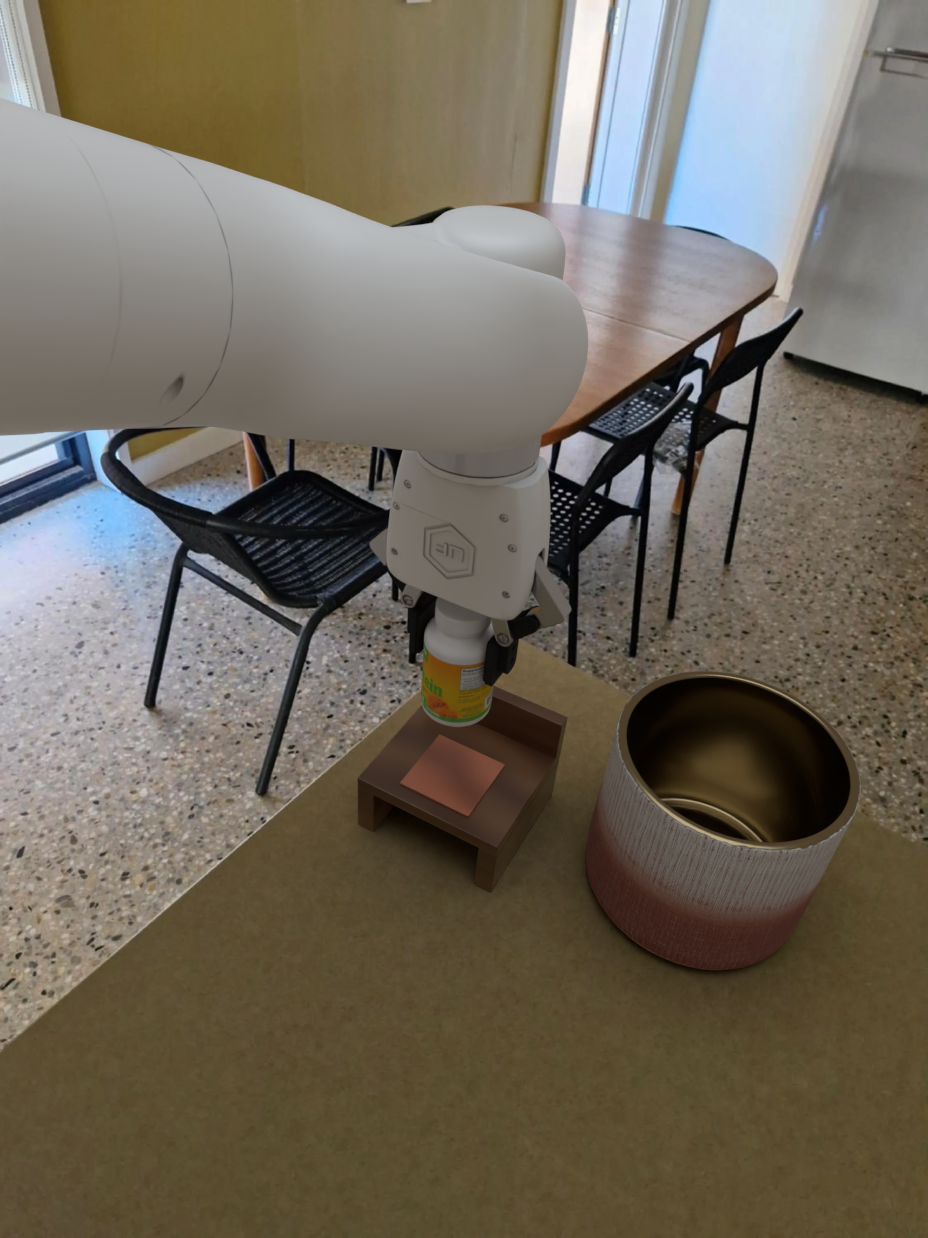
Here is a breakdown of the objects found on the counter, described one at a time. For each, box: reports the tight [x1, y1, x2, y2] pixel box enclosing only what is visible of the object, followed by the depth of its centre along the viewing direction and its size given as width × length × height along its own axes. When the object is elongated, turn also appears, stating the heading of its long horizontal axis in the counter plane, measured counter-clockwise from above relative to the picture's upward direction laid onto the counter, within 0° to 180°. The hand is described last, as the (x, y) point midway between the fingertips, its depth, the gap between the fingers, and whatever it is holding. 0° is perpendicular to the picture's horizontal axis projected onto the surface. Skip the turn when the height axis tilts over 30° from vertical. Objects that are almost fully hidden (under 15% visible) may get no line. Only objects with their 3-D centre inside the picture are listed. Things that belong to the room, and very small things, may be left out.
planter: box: [585, 670, 862, 971], centre depth 69 cm, size 18×18×16 cm
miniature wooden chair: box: [357, 685, 569, 893], centre depth 75 cm, size 12×13×10 cm
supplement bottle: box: [420, 597, 495, 727], centre depth 65 cm, size 5×5×10 cm
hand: (459, 656), depth 65 cm, fingers closed on supplement bottle, 5 cm apart
